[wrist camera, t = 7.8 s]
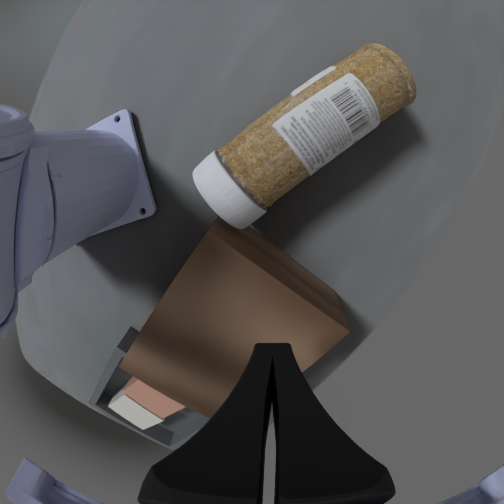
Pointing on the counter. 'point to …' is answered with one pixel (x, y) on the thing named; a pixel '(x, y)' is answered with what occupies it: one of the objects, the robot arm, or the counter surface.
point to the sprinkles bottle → (303, 133)
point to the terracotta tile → (151, 398)
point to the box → (164, 433)
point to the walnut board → (231, 318)
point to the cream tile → (133, 410)
